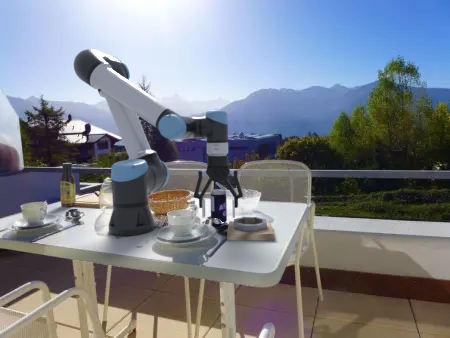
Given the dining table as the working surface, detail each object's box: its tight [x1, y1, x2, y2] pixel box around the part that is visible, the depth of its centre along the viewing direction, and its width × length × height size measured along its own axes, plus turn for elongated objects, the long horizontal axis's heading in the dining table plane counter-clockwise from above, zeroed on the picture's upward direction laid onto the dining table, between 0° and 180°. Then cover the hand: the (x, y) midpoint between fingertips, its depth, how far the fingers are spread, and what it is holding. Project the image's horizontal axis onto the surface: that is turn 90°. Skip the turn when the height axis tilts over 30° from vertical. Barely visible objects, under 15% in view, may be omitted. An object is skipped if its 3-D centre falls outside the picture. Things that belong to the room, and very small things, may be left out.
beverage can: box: [210, 188, 228, 224], centre depth 116 cm, size 6×6×12 cm
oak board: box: [226, 220, 275, 241], centre depth 104 cm, size 14×14×2 cm
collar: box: [233, 216, 267, 232], centre depth 104 cm, size 10×10×2 cm
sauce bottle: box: [59, 162, 77, 208], centre depth 149 cm, size 7×6×20 cm
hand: (218, 216), depth 116 cm, fingers open, 10 cm apart
